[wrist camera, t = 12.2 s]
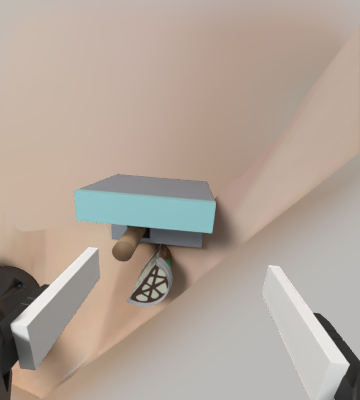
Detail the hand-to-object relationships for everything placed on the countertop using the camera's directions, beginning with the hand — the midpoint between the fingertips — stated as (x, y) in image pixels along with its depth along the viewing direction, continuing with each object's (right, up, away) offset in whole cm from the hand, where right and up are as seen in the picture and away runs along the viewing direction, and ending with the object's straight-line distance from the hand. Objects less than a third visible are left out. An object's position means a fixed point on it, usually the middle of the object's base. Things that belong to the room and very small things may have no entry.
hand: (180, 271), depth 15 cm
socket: (-5, +4, +29) cm, 30 cm away
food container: (-5, -10, +33) cm, 35 cm away
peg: (-9, +1, +30) cm, 32 cm away
